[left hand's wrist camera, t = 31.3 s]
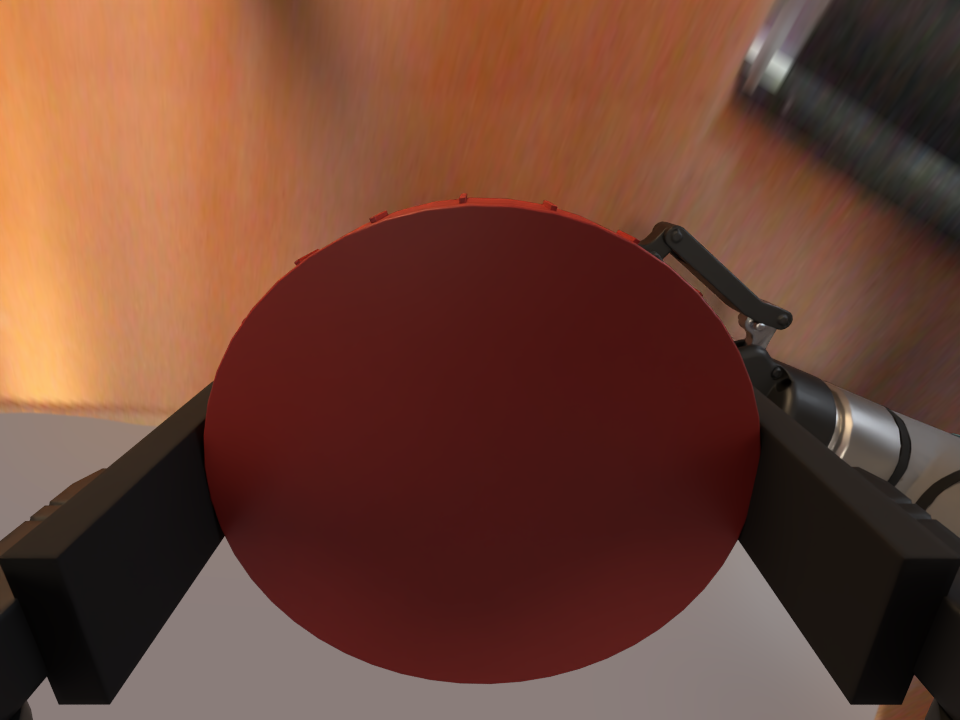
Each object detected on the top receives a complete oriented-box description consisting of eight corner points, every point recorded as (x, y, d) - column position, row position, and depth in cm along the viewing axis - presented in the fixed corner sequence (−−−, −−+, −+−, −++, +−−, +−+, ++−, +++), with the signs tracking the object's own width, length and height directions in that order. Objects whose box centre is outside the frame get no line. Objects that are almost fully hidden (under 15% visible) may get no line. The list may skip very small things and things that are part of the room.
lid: (227, 586, 14) (193, 644, 12) (259, 131, 10) (212, 125, 8) (630, 655, 14) (650, 718, 13) (808, 263, 10) (869, 282, 9)
